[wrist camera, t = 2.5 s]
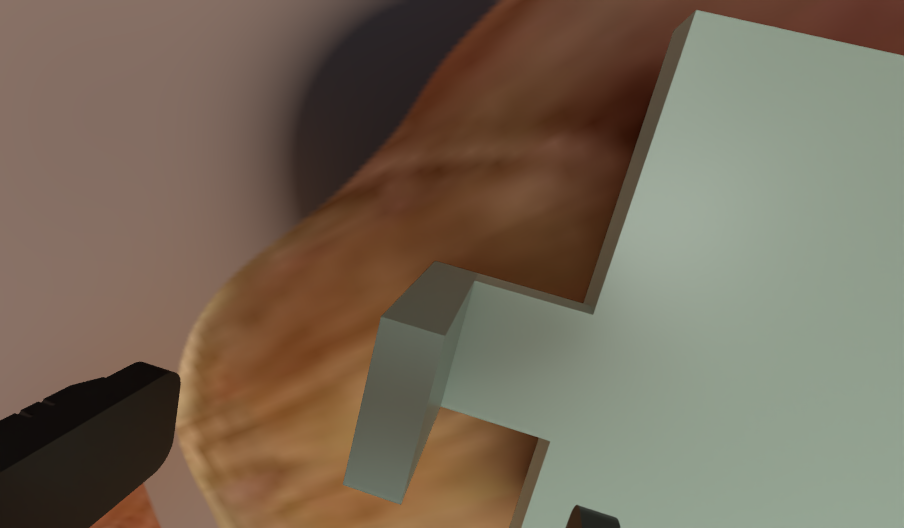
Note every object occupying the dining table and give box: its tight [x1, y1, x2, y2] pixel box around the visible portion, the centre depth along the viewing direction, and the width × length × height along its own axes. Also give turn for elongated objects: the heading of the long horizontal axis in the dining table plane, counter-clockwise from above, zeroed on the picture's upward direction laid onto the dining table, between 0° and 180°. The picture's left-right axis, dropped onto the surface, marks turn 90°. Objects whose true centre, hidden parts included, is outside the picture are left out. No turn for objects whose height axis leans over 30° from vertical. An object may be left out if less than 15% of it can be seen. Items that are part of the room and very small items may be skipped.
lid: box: [343, 10, 904, 528], centre depth 15 cm, size 22×23×8 cm
